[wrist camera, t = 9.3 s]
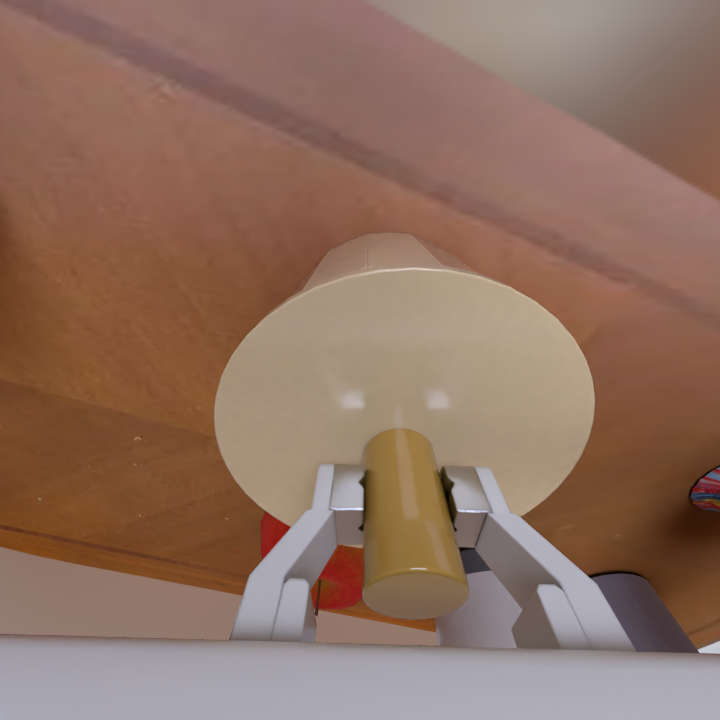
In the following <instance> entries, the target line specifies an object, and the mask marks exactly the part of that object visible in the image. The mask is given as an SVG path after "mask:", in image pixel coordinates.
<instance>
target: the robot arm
mask: <svg viewBox="0 0 720 720" xmlns="http://www.w3.org/2000/svg"><path fill="white" fill-rule="evenodd" d="M440 476H441V480H442V484H443V488H444V492H445V496H446V500H447V504H448V508H449V511H450V515H451V519H452V523H453V527H454V531H455V535H456V538H457V542H458V546H459V547H469V548H475V550H476V551H477V553H478V554H479V555H480V556H481V558H482V559H483V560H484V562H485V563H486V564H487V565H488V567H489V568H490V569H491V570H492V572H493V573H494V574H495V575H496V577H497V578H498V579H499V581H500V582H501V583H502V584H503V586H504V587H505V588H506V589H507V591H508V592H509V593H510V594H511V596H512V597H513V598H514V600H515V601H516V602H517V603H518V605H519V606H520V607H521V608H522V612H521V613H520V615H519V617H518V618H517V620H516V622H515V623H514V625H513V627H512V629H511V630H512V633H513V636H514V640H515V643H516V646H517V648H493V647H457V646H421V645H385V644H349V643H348V644H347V643H315V634H316V619H315V613H314V607H313V602H312V596H311V591H310V590H311V589H312V587H313V585H314V584H315V582H316V580H317V579H318V577H319V575H320V574H321V572H322V570H323V569H324V567H325V566H326V564H327V562H328V561H329V559H330V557H331V556H332V554H333V552H334V551H335V549H336V547H337V545H362V533H363V524H364V465H344V464H320V465H319V468H318V473H317V479H316V484H315V490H314V496H313V501H312V507H311V509H306V511H305V512H304V513H303V514H302V515H301V516H300V517H299V519H298V520H297V521H296V522H295V523H294V524H293V526H292V527H291V528H290V529H289V530H288V531H287V532H286V534H285V535H284V536H283V537H282V538H281V539H280V541H279V542H278V543H277V544H276V545H275V546H274V547H273V549H272V550H271V551H270V552H269V553H268V554H267V556H266V557H265V558H264V559H263V560H262V561H261V562H260V564H259V565H258V566H257V567H256V568H255V569H254V571H253V572H252V573H251V574H250V575H249V578H248V581H247V584H246V587H245V591H244V594H243V597H242V600H241V603H240V607H239V610H238V613H237V616H236V619H235V622H234V626H233V629H232V632H231V635H230V638H229V640H204V639H168V638H165V639H164V638H130V637H95V636H94V637H93V636H59V635H57V636H56V635H18V634H0V720H720V654H707V653H673V652H637V651H636V650H635V648H634V646H633V645H632V643H631V641H630V639H629V638H628V636H627V634H626V633H625V631H624V629H623V628H622V626H621V624H620V622H619V621H618V619H617V617H616V616H615V614H614V612H613V610H612V609H611V607H610V605H609V604H608V602H607V600H606V599H605V597H604V595H603V593H602V592H601V590H600V588H599V587H598V585H597V584H596V583H595V582H594V581H593V580H592V579H590V578H589V577H588V576H587V575H586V574H585V573H584V572H582V571H581V570H580V569H579V568H578V567H577V566H576V565H574V564H573V563H572V562H571V561H570V560H569V559H568V558H566V557H565V556H564V555H563V554H562V553H561V552H560V551H558V550H557V549H556V548H555V547H554V546H553V545H552V544H550V543H549V542H548V541H547V540H546V539H545V538H543V537H542V536H541V535H540V534H539V533H538V532H537V531H535V530H534V529H533V528H532V527H531V526H530V525H529V524H527V523H526V522H525V521H524V520H523V519H522V518H521V517H519V516H518V515H517V514H516V513H511V512H510V510H509V508H508V505H507V503H506V501H505V499H504V497H503V495H502V492H501V490H500V488H499V486H498V484H497V481H496V479H495V477H494V475H493V473H492V470H491V469H490V468H489V467H478V466H473V467H472V466H442V468H441V471H440Z"/></svg>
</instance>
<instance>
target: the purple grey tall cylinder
mask: <svg viewBox="0 0 720 720" xmlns="http://www.w3.org/2000/svg"><path fill="white" fill-rule="evenodd" d="M589 578H590V579H592V580H593V581H594V582H595V583H596V584H597V585H598V587H599V588H600V590H601V592H602V593H603V595H604V597H605V599H606V600H607V602H608V604H609V605H610V607H611V609H612V610H613V612H614V614H615V616H616V617H617V619H618V621H619V622H620V624H621V626H622V628H623V629H624V631H625V633H626V634H627V636H628V638H629V639H630V641H631V643H632V645H633V646H634V648H635V650H636V651H637V652H673V653H699V652H698V650H697V649H696V648H695V646H694V645H693V643H692V642H691V641H690V639H689V638H688V636H687V635H686V634H685V632H684V631H683V629H682V628H681V627H680V625H679V624H678V623H677V621H676V620H675V618H674V617H673V616H672V614H671V613H670V611H669V610H668V609H667V607H666V606H665V605H664V603H663V602H662V600H661V599H660V598H659V596H658V595H657V593H656V592H655V591H654V589H653V588H652V586H651V585H650V584H649V582H648V581H647V580H646V579H644V578H642V577H640V576H636V575H631V574H624V573H608V574H601V575H596V576H592V577H589Z"/></svg>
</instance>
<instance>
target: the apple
mask: <svg viewBox="0 0 720 720" xmlns="http://www.w3.org/2000/svg"><path fill="white" fill-rule="evenodd" d="M290 528H291V527H290V526H288V525H286V524H285V523H283V522H281V521H280V520H278V519H276V518H275V517H273V516H272V515H270V514H269V513H268V512H265V514H264V516H263V518H262V520H261V554H262V560H263V559H264V558H265V557H266V556H267V554H268V553H269V552H270V551H271V550H272V549H273V547H274V546H275V545H276V544H277V543H278V542H279V541H280V539H281V538H282V537H283V536H284V535H285V534H286V532H287V531H288V530H289V529H290ZM310 591H311V596H312V602H313V607H315V608H316V609H315V615H316V616H317V615H318V608H321V609H343V608H346V607H350V606H354V605H355V604H356V603H357V602H358V601H359V600H360V599H361V598H362V548H355V547H350V546H345V545H337V547H336V549H335V551H334V552H333V554H332V556H331V557H330V559H329V561H328V562H327V564H326V566H325V567H324V569H323V570H322V572H321V574H320V575H319V577H318V579H317V580H316V582H315V584H314V585H313V587H312V589H311V590H310Z"/></svg>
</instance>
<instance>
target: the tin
mask: <svg viewBox="0 0 720 720" xmlns="http://www.w3.org/2000/svg"><path fill="white" fill-rule="evenodd" d="M409 263H415V264H429V265H443V266H449V267H453V268H458V269H463V270H468V271H472V272H475V271H473V270H472V269H471V268H469V267H468V266H467V265H465V264H464V263H462V262H461V261H460V260H458V259H457V258H456V257H454V256H453V255H452V254H450V253H449V252H447V251H446V250H444V249H442V248H440V247H438V246H435V245H433V244H431V243H430V242H428V241H426V240H423V239H420V238H418V237H416V236H414V235H412V234H402V233H388V232H387V233H374V234H365V235H362V236H360V237H357V238H355V239H352V240H349V241H347V242H345V243H343V244H341V245H340V246H338V247H336V248H333V249H331V250H330V251H328V252H327V253H326V254H325V255H324V256H323V258H322V259H321V260H320V261H319V262H318V263H317V264H316V265H315V267H314V268H313V269H312V270H311V271H310V272H309V273H308V274H307V275H306V277H305V278H304V279H303V280H302V282H301V283H300V284H299V286H298V287H297V288H296V290H295V291H294V292H293V294H292V295H294V294H296V293H298V292H300V291H302V290H304V289H306V288H308V287H310V286H312V285H314V284H316V283H318V282H320V281H323V280H326V279H329V278H332V277H335V276H337V275H340V274H343V273H346V272H349V271H354V270H359V269H364V268H369V267H374V266H379V265H394V264H409ZM292 295H291V296H292ZM291 296H290V297H291Z"/></svg>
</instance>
